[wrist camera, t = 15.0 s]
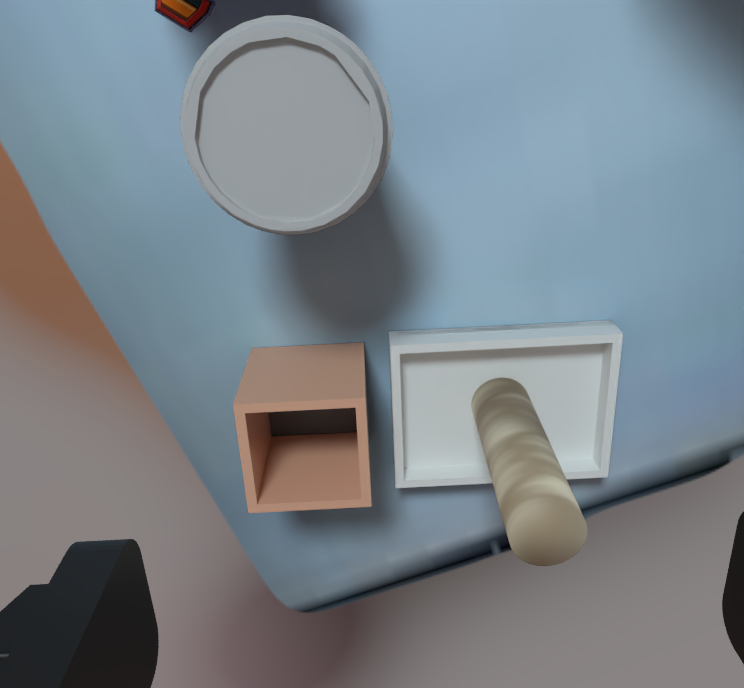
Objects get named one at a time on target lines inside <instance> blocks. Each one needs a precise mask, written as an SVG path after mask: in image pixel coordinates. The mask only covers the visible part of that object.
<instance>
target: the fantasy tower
mask: <svg viewBox="0 0 744 688" xmlns="http://www.w3.org/2000/svg"><path fill="white" fill-rule="evenodd" d="M214 4H215V3H214V2H212V1H211V0H155V11H156V12H158V13H159V14H161V15H162V16H164V17H166V18H167V19H169V20H171V21H172V22H174V23H176V24H177V25H179V26H180V27H182V28H184V29H185V30H187V31H189V32H191V31H193V30H194V29H195V28H196V27H197V26H198V25H199V24H200V23H201V22H202V21H203V20H204V19H205V18H206V17H208V16H209V15H210V13H211V11H212V9H213V7H214Z"/></svg>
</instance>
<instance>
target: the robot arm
mask: <svg viewBox="0 0 744 688" xmlns="http://www.w3.org/2000/svg"><path fill="white" fill-rule="evenodd" d="M722 601H723V602H722V609H723V618H724V623H725V627H726V630H727V634H728V636H729V639H730V641H731V643H732V645H733V647H734V649H735V651H736V652H737V654H738V656H739V657H740V659H741V660H742V662H743V664H744V512H743V513H742V514H741V516H740V518H739V520H738V524H737V529H736V534H735V539H734V544H733V549H732V554H731V558H730V564H729V569H728V573H727V579H726V584H725V588H724V593H723V600H722ZM157 657H158V627H157V622H156V617H155V613H154V609H153V604H152V600H151V595H150V591H149V586H148V582H147V577H146V573H145V569H144V564H143V560H142V555H141V551H140V548H139V546H138V544H137V542H136V541H135V540H133V539H125V540H105V541H86V542H75V543H74V544H72V545H71V546H70V547H69V549H68V550H67V552H66V554H65V556H64V557H63V559H62V561H61V563H60V564H59V566H58V568H57V570H56V572H55V573H54V575H53V577H52V579H51V580H50V582H49V584H41V585H30V586H29V587H28V588H26V589H25V590H24V591H23V592H22V593H21V594H20V595H19V596H17V597H16V598H15V599H14V600H13V601H12V602H11V603H10V604H8V605H7V606H6V607H5V608H4V609H3V610H2V611H1V612H0V688H150V687H151V684H152V681H153V678H154V674H155V670H156V665H157Z"/></svg>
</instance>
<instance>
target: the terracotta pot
mask: <svg viewBox="0 0 744 688" xmlns="http://www.w3.org/2000/svg"><path fill="white" fill-rule="evenodd" d="M233 408H234V415H235V421H236V428H237V435H238V442H239V449H240V456H241V463H242V470H243V477H244V484H245V491H246V498H247V505H248V512H249V513H260V512H279V511H299V510H318V509H337V508H356V507H372V503H371V474H370V446H369V426H368V408H367V390H366V372H365V354H364V342H360V343H341V344H321V345H302V346H283V347H263V348H252V349H251V352H250V355H249V358H248V361H247V364H246V367H245V370H244V373H243V376H242V379H241V382H240V385H239V388H238V391H237V394H236V397H235V400H234V403H233ZM338 408H356V422H357V432H350V433H331V434H311V435H292V436H273V437H272V436H271V428H270V420H269V412H280V411H299V410H318V409H338Z"/></svg>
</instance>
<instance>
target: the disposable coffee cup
mask: <svg viewBox="0 0 744 688" xmlns="http://www.w3.org/2000/svg"><path fill="white" fill-rule="evenodd" d="M180 119H181V135H182V140H183V145H184V150H185V153H186V156H187V159H188V162H189V164H190V167H191V169H192V171H193V173H194V175H195V177H196V178H197V180H198V182H199V183H200V185H201V186H202V188H203V189H204V190H205V192H206V193H207V194H208V195H209V196H210V197H211V199H212V200H213V201H214V202H215V203H216V204H217V205H218V206H219V207H221V208H222V209H223V210H224V211H225V212H227V213H228V214H229V215H231V216H232V217H234V218H236V219H237V220H239V221H241V222H243V223H244V224H246V225H248V226H251V227H253V228H256V229H259V230H261V231H266V232H270V233H275V234H285V235H299V234H307V233H314V232H318V231H320V230H323V229H326V228H328V227H331V226H334V225H336V224H339V223H340V222H342V221H343V220H344V219H346V218H347V217H349V216H350V215H352V214H353V213H355V212H356V211H357V210H358V209H359V208H360V207H361V206H362V205H363V204H364V203H365V202H366V201H367V200H368V199H369V198H370V196H371V195H372V193H373V192H374V190H375V189H376V187H377V185H378V184H379V182H380V181H381V179H382V176H383V174H384V171H385V169H386V166H387V163H388V161H389V158H390V151H391V144H392V137H393V127H392V112H391V108H390V103H389V99H388V96H387V92H386V90H385V87H384V85H383V83H382V81H381V78H380V76H379V74H378V72H377V71H376V69H375V68H374V66H373V65H372V63H371V62H370V60H369V59H368V57H367V56H366V55H365V54H364V53H363V52H362V51H361V50H360V49H359V48H358V47H357V46H356V45H355V43H353V42H352V41H351V40H350V39H348V38H347V37H346V36H345V35H343V34H342V33H340V32H338V31H337V30H335V29H333V28H331V27H330V26H328V25H325V24H323V23H320V22H318V21H315V20H313V19H310V18H304V17H298V16H292V15H274V16H263V17H260V18H257V19H253V20H250V21H246V22H243V23H241V24H239V25H237V26H236V27H234V28H232V29H230V30H228V31H227V32H225V33H223V34H222V35H221V36H220V37H219V38H218V39H217V40H215V41H214V42H213V43H212V44H211V45H210V46H209V47H208V48H207V49H206V51H205V52H204V53H203V54H202V56H201V57H200V58H199V60H198V61H197V62H196V64H195V66H194V68H193V70H192V72H191V75H190V77H189V79H188V81H187V84H186V87H185V91H184V95H183V98H182V107H181V116H180Z"/></svg>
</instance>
